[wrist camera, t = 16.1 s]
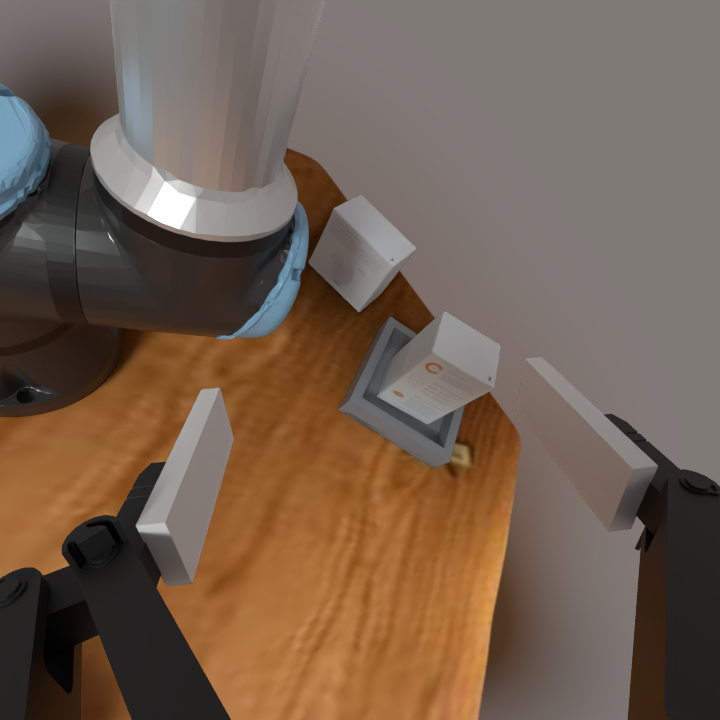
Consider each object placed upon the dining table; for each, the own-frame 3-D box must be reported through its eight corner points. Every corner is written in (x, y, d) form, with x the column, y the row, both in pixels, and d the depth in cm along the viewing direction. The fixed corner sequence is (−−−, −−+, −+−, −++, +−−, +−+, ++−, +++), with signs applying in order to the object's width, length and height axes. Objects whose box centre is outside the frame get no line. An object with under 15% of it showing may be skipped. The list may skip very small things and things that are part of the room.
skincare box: (382, 292, 59) (419, 247, 50) (358, 313, 55) (393, 268, 47) (334, 244, 59) (362, 191, 51) (306, 262, 55) (331, 208, 47)
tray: (338, 409, 47) (349, 400, 44) (378, 328, 55) (390, 316, 53) (433, 467, 49) (449, 461, 46) (458, 381, 57) (474, 371, 55)
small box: (437, 386, 54) (503, 344, 43) (427, 426, 50) (496, 390, 40) (388, 358, 53) (444, 308, 42) (374, 397, 49) (431, 352, 38)
